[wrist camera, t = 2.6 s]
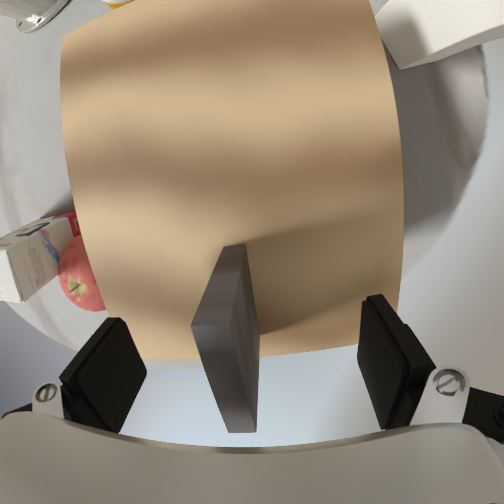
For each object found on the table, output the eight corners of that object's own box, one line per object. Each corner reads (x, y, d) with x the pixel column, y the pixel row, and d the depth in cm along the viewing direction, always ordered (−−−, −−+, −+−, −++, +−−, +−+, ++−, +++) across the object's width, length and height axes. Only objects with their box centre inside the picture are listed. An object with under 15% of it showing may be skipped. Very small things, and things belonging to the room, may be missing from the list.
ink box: (84, 209, 25) (6, 245, 14) (93, 253, 27) (25, 304, 16) (36, 218, 26) (-32, 251, 15) (45, 256, 27) (-16, 298, 16)
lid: (69, 40, 9) (-10, 13, 3) (354, -19, 8) (397, -90, 1) (132, 350, 16) (88, 429, 9) (388, 328, 14) (434, 414, 8)
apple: (121, 299, 29) (87, 340, 21) (77, 256, 27) (34, 286, 19) (155, 257, 26) (119, 295, 19) (105, 209, 25) (57, 231, 17)
